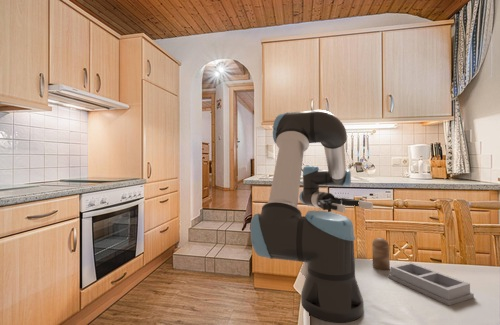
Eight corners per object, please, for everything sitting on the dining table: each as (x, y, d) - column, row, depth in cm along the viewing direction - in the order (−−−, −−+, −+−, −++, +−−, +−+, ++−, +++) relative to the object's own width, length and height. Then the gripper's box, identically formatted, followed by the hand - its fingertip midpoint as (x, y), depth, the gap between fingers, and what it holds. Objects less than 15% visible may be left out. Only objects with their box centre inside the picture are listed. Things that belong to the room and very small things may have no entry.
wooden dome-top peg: (375, 269, 88) (374, 239, 88) (370, 263, 93) (370, 235, 93) (392, 270, 87) (391, 240, 87) (386, 264, 92) (385, 236, 92)
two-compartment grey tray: (388, 277, 81) (388, 266, 81) (410, 272, 85) (410, 261, 85) (449, 305, 65) (448, 291, 65) (473, 297, 68) (473, 284, 69)
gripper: (345, 206, 123) (383, 214, 104) (300, 211, 114) (331, 220, 95) (345, 190, 123) (382, 195, 104) (299, 194, 114) (331, 200, 95)
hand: (358, 207), depth 99 cm, fingers open, 13 cm apart
